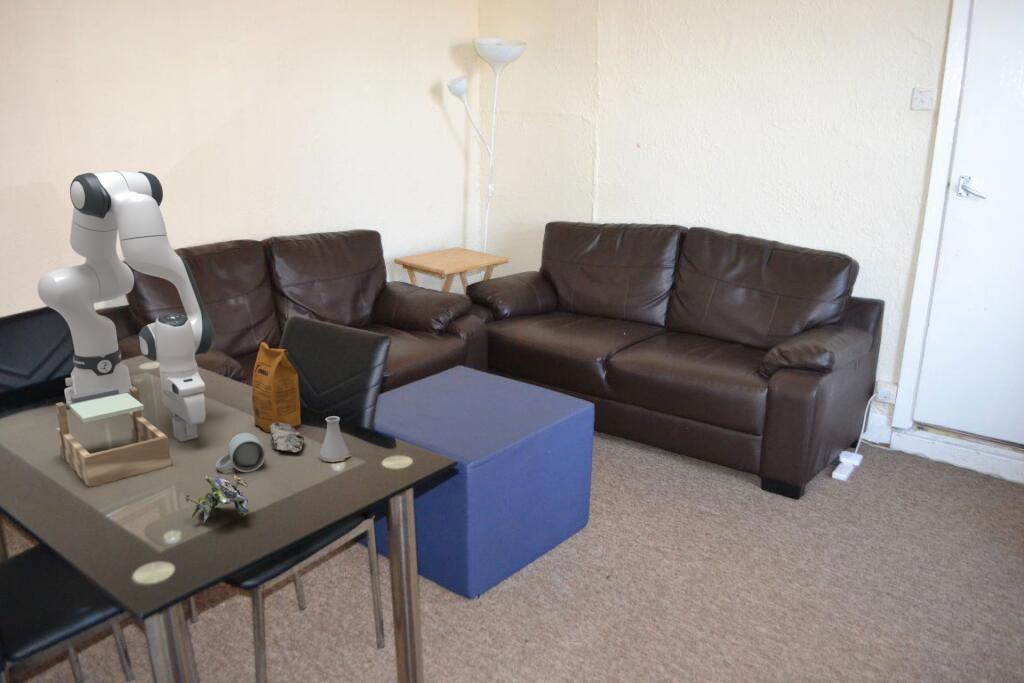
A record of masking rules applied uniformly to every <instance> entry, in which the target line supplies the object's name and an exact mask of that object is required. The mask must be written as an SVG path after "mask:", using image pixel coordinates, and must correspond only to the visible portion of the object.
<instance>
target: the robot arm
mask: <svg viewBox="0 0 1024 683" xmlns="http://www.w3.org/2000/svg"><path fill="white" fill-rule="evenodd" d="M69 196H70V200H71V203H72V205H73V210H72V218H71V228H70V236H69V244H70V246H71V248H72V250H73V251H74V252H75V253H76V254H78V255H79V256H80V257H83V258H85V262H84V263H82V264H80V265H79V264H78V265H72V266H66V267H61V268H57V269H54V270H51V271H49V272H46V273H44V274H42V275H41V277H39V280H38V283H37V294H38V296H39V299H40V301H42V302H43V304H45V306H47V307H48V308H50V309H52V310H54V311H55V312H57V313H58V314H60V316H62V318H63V319H64V320H65V321H66V323H67V325H68V328H69V329H70V330H69V331H70V334H71V338H72V344H73V350H74V353H73V358H72V361H73V366H74V367H73V369H72V370H71V373H70V377H66V378H65V379H64V381H65V385H66V388H64V398H65V400H66V401H65V402H66V404H71V403H72V402H71V396H72V395H77V394H82V393H87V392H92V391H97V390H102V389H107V388H112V387H116V388H117V389H118V391H119V394H120V393H125V392H129V393H130V390H129V389H130V388H134V387H135V386H132V381H131V377H130V376H131V375H130V372H129V367H128V366H127V365H125V364H124V363H123V362H122V351H121V349H120V347H119V344H118V337H117V329H116V324H115V322H113V321H112V320H111V319H110V318H108V317H107V316H104V315H101V314H98V313H97V311H96V308H95V304H98V303H102V302H107V301H112V300H116V299H118V298H120V297H123V296H125V295H127V294H129V293H131V291H132V290H133V288H134V285H135V277H134V274H133V271H132V269H133V270H135V271H136V272H138V273H141V274H144V275H147V276H151V277H157V278H161V279H163V280H166V281H168V282H170V283H172V284H173V285H174V287H175V289H176V290H177V292H178V294H179V295H178V296H179V298H180V300H181V302H182V306H183V308H184V311H185V314H186V315H185V314H183V313H177V312H176V313H175V312H172V313H170V312H169V313H165V314H162V315H160V316H158V317H157V318H156V319H155V322H152V323H149V324H146V325H144V326H143V327H142V328H141V330H140V331H139V332H138V335H137V337H138V339H137V340H138V347H139V352H140V354H141V355H142V356H143V357H144V358H146V359H147V360H150V361H153V362H159V368H158V370H159V372H158V373H159V379H160V391H161V392H160V393H161V401H162V404H163V406H164V407H166V408H167V409H169V411H171V412H172V415H173V416H172V417H176V416H179V417H181V418H182V419H183V420H185V423H186V427H185V433H186V434H187V435H193V434H194V425H195V424H197V425H199V424H203V423H205V421H206V418H207V414H206V411H207V410H206V409H207V408H206V398H205V394H204V393H205V392H206V388H207V387H206V384H205V382H204V380H203V378H201V376H200V373H199V370H198V369H199V368H198V363H197V360H196V357H195V356H199V355H207V354H208V353H209V352H210V351H211V349H212V348H213V347H214V346H215V344H216V341H217V334H216V330H215V328H214V325H213V323H212V321H211V319H210V316H209V315H208V313H207V311H206V307H205V305H204V303H203V300H202V297H201V295H200V291H199V289H198V286H197V284H196V281H195V278H194V276H193V273H192V270H191V268H190V266H189V264H188V263H187V260H186V259H185V258H184V257H183V256H182V255H179V254H177V253H176V252H175V251H174V249H173V247H172V246H171V243H170V242H169V237H168V233H167V228H166V225H165V221H164V218H163V215H162V212H161V210H160V206H161V205H162V201H163V198H164V191H163V186H162V184H161V182H160V180H159V178H157V176H156V175H154V174H152V173H151V172H146V171H137V172H136V171H126V170H113V171H104V172H95V173H93V172H86V173H81V174H79V175H76V176H75V177H74V178H73V179H72V181H71V184H70V187H69ZM118 238H119V244H120V249H121V254H122V256H123V259H124V261H125V262H124V261H122V260H121V259H120V258H119V255H118V252H117V242H118V241H117V240H118ZM126 263H127V264H126ZM131 268H132V269H131Z"/></svg>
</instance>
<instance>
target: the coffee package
mask: <svg viewBox="0 0 1024 683" xmlns="http://www.w3.org/2000/svg"><path fill="white" fill-rule="evenodd" d="M287 355H289V351H288V350H287V349H285V348H284V349H283V348H270V347H269V345H268V344H267V343H266V342H265V341H262V342H260V346H259V350H258V352H257V356H256V361H255V363H254V367H253V372H252V384H251V385H252V386H251V387H252V388H251V402H252V409H253V420H254V426H256V425H257V426H256V427H260V428H261V430H262V429H263V430H264V432H265V431H267V432H266V433H270V432H271V428H270V426H271V424H272V423H273V422H280V423H285V424H289V425H290V426H291V427H293V428H295V426H296V427H298V426H299V425H301V424H302V420H301V401H300V389H299V388H300V386H299V376H298V375H299V374H298V372H297V371H296V369H295V367H294V366H293V364H291V362H290V361H289V359H288V357H287ZM297 425H298V426H297ZM263 430H262V431H263Z"/></svg>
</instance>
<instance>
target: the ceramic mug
mask: <svg viewBox="0 0 1024 683" xmlns="http://www.w3.org/2000/svg"><path fill="white" fill-rule="evenodd" d="M227 449H228V453H227V454H225V455H224V456H221V457H220V458H219V459H218V460H217V461H216V463H215V468H216V469H217V471H218V472H220V473H224V472H226V471H229V470H231V469H233V468H235V470H237V471H239V472H242V473H251V472H254V471H257V470H258V469H259V468H260V467H261V466H262V465H263V464H264V461H265V459H266V450H265V447H264V446H263V444H262V443H261V442H260V440H259V438H258V437H257V436H256V435H254V434H252V433H250V432H241V433H238V434H236V435H234V436H233V437H232V439H231V440H230V441H229V444H228V448H227Z"/></svg>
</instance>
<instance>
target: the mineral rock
mask: <svg viewBox="0 0 1024 683" xmlns="http://www.w3.org/2000/svg"><path fill="white" fill-rule="evenodd" d="M270 428H271V433H270V446H271V447H272V449H273V450H277V451H282V452H283V451H285V452H290V453H297V452H300V451H301V450H302V447H303V444H304V441H305V438H304V435H302V434H301V432H299V431H297V430H296V428H295V427H293V428H292V427H291V426H290V425H289V424H285V423H280V422H273V423H272V424H271V426H270Z"/></svg>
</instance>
